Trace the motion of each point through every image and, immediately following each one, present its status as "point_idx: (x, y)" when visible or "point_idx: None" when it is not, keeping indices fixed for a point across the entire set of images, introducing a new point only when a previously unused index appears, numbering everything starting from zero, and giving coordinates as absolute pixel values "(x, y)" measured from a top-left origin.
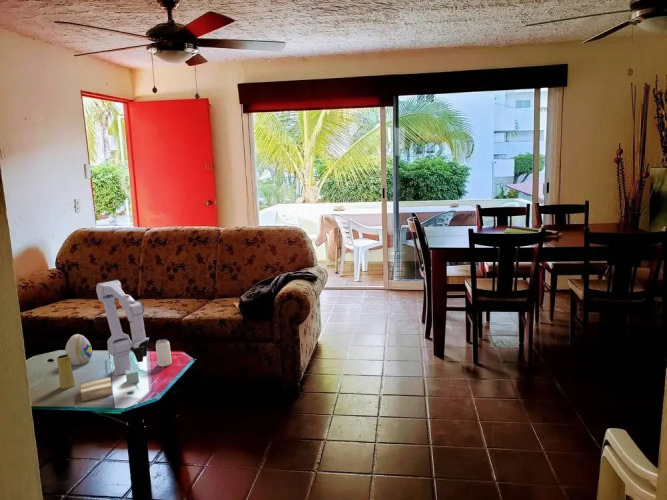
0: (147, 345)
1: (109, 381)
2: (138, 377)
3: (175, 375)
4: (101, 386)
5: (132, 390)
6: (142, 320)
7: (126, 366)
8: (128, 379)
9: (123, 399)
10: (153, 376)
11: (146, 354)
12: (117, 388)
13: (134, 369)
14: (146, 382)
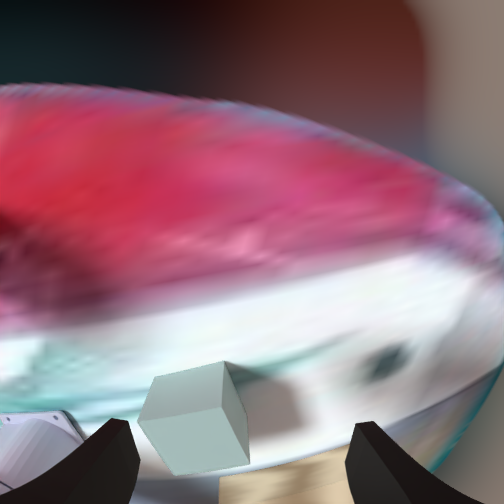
0: (10, 494)
1: (292, 498)
2: (222, 379)
3: (169, 108)
4: (347, 502)
5: (357, 364)
6: None
7: (57, 455)
8: (245, 429)
9: (449, 366)
10: (139, 281)
11: (116, 433)
12: (288, 445)
13: (159, 433)
14: (247, 310)
